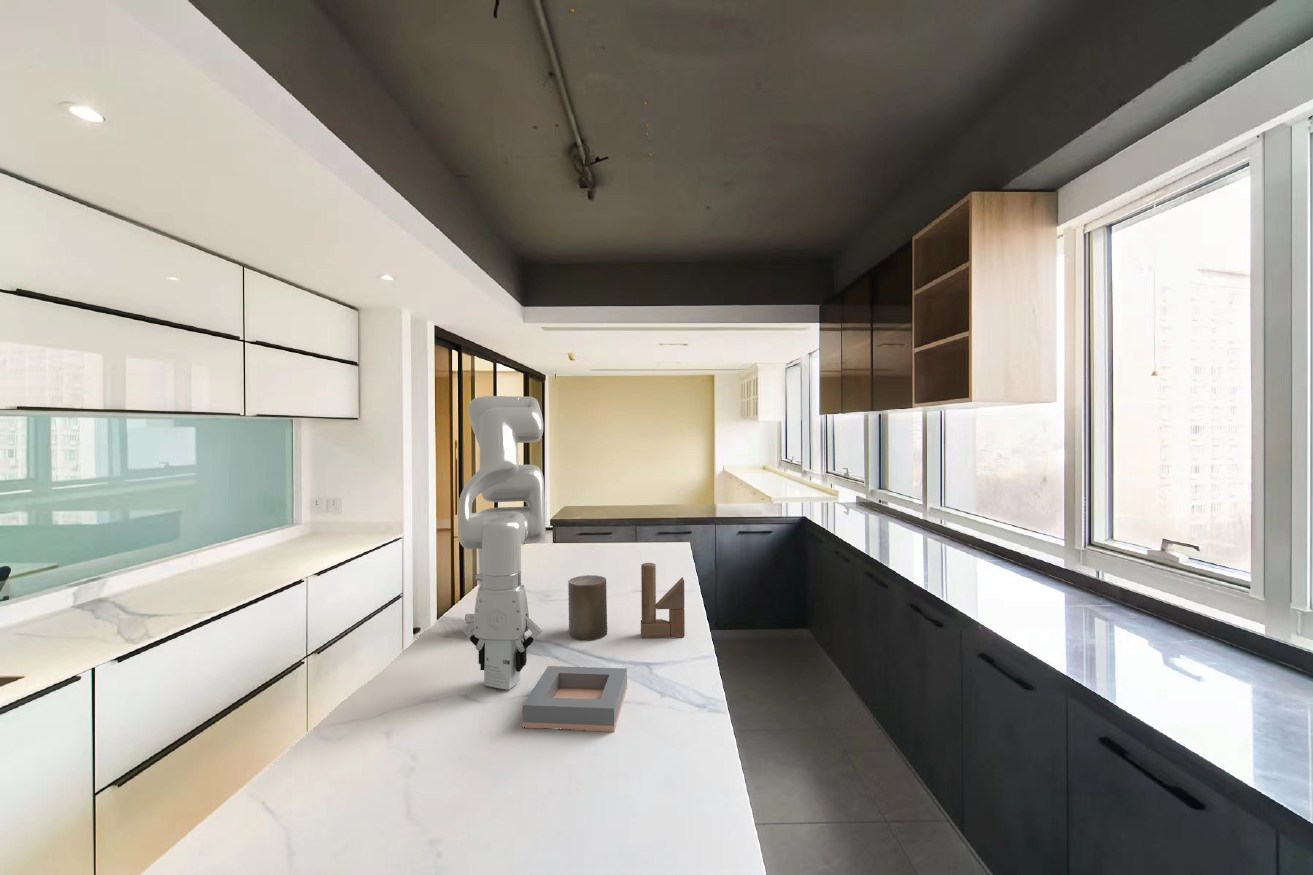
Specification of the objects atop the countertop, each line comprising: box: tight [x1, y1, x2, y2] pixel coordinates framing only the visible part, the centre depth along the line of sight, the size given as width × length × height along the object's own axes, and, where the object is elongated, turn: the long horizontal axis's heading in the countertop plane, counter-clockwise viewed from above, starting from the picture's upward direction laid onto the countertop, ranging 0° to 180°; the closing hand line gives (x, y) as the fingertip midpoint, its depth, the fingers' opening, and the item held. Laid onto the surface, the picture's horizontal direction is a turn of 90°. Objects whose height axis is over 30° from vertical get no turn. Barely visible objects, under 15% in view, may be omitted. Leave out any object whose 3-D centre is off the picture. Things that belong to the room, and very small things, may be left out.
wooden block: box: [640, 562, 686, 639], centre depth 140 cm, size 4×11×18 cm, turn 93°
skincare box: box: [483, 640, 521, 690], centre depth 113 cm, size 6×4×12 cm
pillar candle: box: [567, 574, 608, 641], centre depth 142 cm, size 10×10×15 cm
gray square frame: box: [522, 665, 628, 733], centre depth 104 cm, size 16×16×4 cm
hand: (502, 667), depth 113 cm, fingers closed on skincare box, 6 cm apart
